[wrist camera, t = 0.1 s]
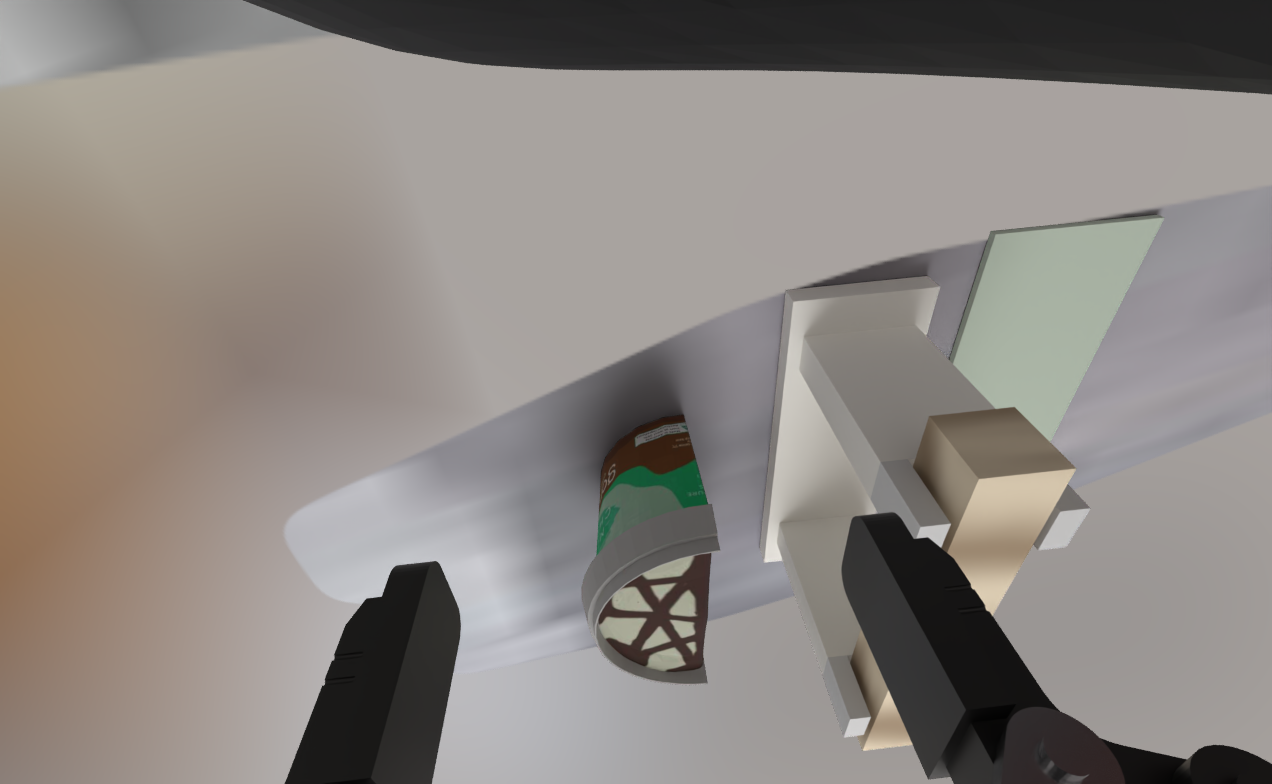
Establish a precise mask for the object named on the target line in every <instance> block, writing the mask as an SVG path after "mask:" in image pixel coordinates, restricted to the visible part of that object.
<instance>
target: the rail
mask: <svg viewBox="0 0 1272 784" xmlns="http://www.w3.org/2000/svg"><path fill="white" fill-rule="evenodd" d="M913 468H914V470H915V471H916V472H917V474H918V475H919V477H920V478H921V480H922V481H923V483H924V484H925V486H926V487H927V489H928V490H929V492H930V493H931V495H932V496H933V498H934V499H935V501H936V502H937V504H938V505H939V507H940V508H941V510H942V511H943V513H944V514H945V515H946V517H947V518H948V520H949V521H950V523H951V525H950V527H949V530H948V532H947V535H946V537H945V540H944V542H943V544H942V547H941V548H942V549H943V550H944V551H946V552H947V553H948V554H949V555H950V556H952V557H953V558H954V559H955V561H956V562H957V564H958V565H959V567H960V568H961V570H962V571H963V573H964V574H965V576H966V577H967V579H968V580H969V582H970V583H971V588H972V589H975V591H976V592H977V594H978V595H979V597H980V598H981V600H982V601H983V603H984V604H985V608H986V610H987V611H989V612H990V613H991V615H992V616H993V614H994V612H995V611H996V609H997V607H998V605H999V604H1000V602H1001V600H1002V598H1003V596H1004V595H1005V593H1006V591H1007V590H1008V588H1009V586H1010V584H1011V582H1012V581H1013V579H1014V577H1015V576H1016V574H1017V572H1018V570H1019V568H1020V567H1021V565H1022V563H1023V562H1024V560H1025V558H1026V556H1027V555H1028V553H1029V551H1030V549H1031V547H1032V546H1033V544H1034V542H1035V540H1036V539H1037V537H1038V535H1039V533H1040V532H1041V530H1042V528H1043V526H1044V525H1045V523H1046V521H1047V519H1048V518H1049V516H1050V514H1051V512H1052V511H1053V509H1054V507H1055V505H1056V504H1057V502H1058V500H1059V498H1060V497H1061V495H1062V493H1063V491H1064V490H1065V488H1066V486H1067V484H1068V483H1069V481H1070V479H1071V477H1072V476H1073V474H1074V472H1075V470H1076V468H1075V467H1074V466H1073V465H1072V464H1071V463H1070V462H1069V461H1068V460H1067V459H1066V458H1065V457H1064V456H1063V455H1062V454H1061V453H1060V452H1059V451H1058V450H1057V449H1056V448H1055V447H1054V446H1053V445H1052V444H1051V443H1050V442H1049V441H1048V440H1047V439H1046V438H1045V437H1044V436H1043V435H1042V434H1041V433H1040V432H1039V431H1038V430H1037V429H1036V428H1035V427H1034V426H1033V425H1032V424H1031V423H1030V422H1029V421H1028V420H1027V419H1026V418H1025V417H1024V416H1023V415H1022V414H1021V413H1020V412H1019V411H1018V410H1017V409H1016V408H1015V407H1009V408H1000V409H991V410H981V411H972V412H962V413H953V414H944V415H934V416H929V418H928V421H927V424H926V427H925V430H924V433H923V437H922V440H921V443H920V446H919V449H918V452H917V455H916V458H915V462H914V465H913ZM850 665H851V667H852V670H853V672H854V675H855V677H856V680H857V682H858V685H859V688H860V690H861V693H862V695H863V698H864V700H865V703H866V705H867V708H868V711H869V713H870V716H871V718H870V721H869V723H868V725H867V728H866V730H865V733H864V735H859V736H857V737H858V740H859V743H860V745H861V748H862V751H864V750H873V749H881V748H890V747H898V746H907V745H913V744H912V742H911V740H910V737H909V735H908V733H907V731H906V728H905V726H904V724H903V722H902V719H901V717H900V715H899V713H898V710H897V708H896V706H895V704H894V701H893V699H892V697H891V695H890V692H889V690H888V688H887V686H886V683H885V681H884V679H883V677H882V674H881V672H880V670H879V668H878V666H877V663H876V661H875V659H874V657H873V654H872V652H871V650H870V648H869V645H868V643H867V641H866V639H865V636H864V634H863V632H862V630H860V633H859V636H858V639H857V642H856V645H855V649H854V652H853V655H852V658H851V661H850Z"/></svg>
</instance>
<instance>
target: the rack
mask: <svg viewBox="0 0 1272 784" xmlns="http://www.w3.org/2000/svg"><path fill="white" fill-rule="evenodd" d="M939 290H940V286H939V285H938V284H936V283H935V282H934V281H933V280H932V279H931V278H930V277H928V276H921V277H912V278H902V279H892V280H882V281H872V282H862V283H852V284H842V285H832V286H822V287H812V288H802V289H792V290H786V294H785V304H784V314H783V323H782V333H781V343H780V353H779V363H778V373H777V382H776V392H775V402H774V412H773V422H772V432H771V441H770V451H769V461H768V471H767V481H766V491H765V500H764V510H763V520H762V530H761V540H760V551H761V554H762V557H763V561H764V563H766V562H774V561H783V563H784V566H785V569H786V572H787V575H788V577H789V580H790V583H791V586H792V589H793V592H794V595H795V598H796V600H797V604H798V606H799V609H800V612H801V615H802V618H803V621H804V624H805V627H806V630H807V633H808V635H809V638H810V641H811V644H812V647H813V650H814V653H815V656H816V659H817V662H818V664H819V667H820V670H821V673H822V676H823V679H824V682H825V685H826V688H827V691H828V693H829V696H830V699H831V702H832V705H833V708H834V711H835V714H836V717H837V720H838V722H839V725H840V728H841V731H842V734H843V737H851V736H859V735H864V733H865V730H866V728H867V725H868V723H869V721H870V718H871V716H870V713H869V711H868V708H867V705H866V703H865V700H864V698H863V695H862V693H861V690H860V688H859V685H858V682H857V680H856V677H855V675H854V672H853V670H852V667H851V665H850V661H851V658H852V655H853V652H854V649H855V645H856V642H857V639H858V636H859V633H860V630H861V627H860V625H859V623H858V621H857V618H856V616H855V614H854V612H853V609H852V607H851V605H850V603H849V600H848V598H847V596H846V593H845V589H844V586H843V581H842V572H841V567H842V561H843V556H844V551H845V547H846V542H847V538H848V533H849V528H850V524H851V520H852V518H853V517H854V516H861V515H870V514H876V511H877V512H878V514H879V513H888V512H894V513H896V514H897V515H899V516H900V518H901V519H902V520H903V522H904V524H905V525H906V527H907V528H908V530H909V532H910V533H911V535H912V536H913V538H914V539H917V538H926V537H928V538H930V539H931V540H932V541H933V542H935V543H936V544H937V545H938V546H939V547H942V544H943V542H944V540H945V537H946V535H947V532H948V530H949V527H950V525H951V523H950V521H949V520H948V518H947V517H946V515H945V514H944V513H943V511H942V510H941V508H940V507H939V505H938V504H937V502H936V501H935V499H934V498H933V496H932V495H931V493H930V492H929V490H928V489H927V487H926V486H925V484H924V483H923V481H922V480H921V478H920V477H919V475H918V474H917V472H916V471H915V470H914V468H913V465H914V462H915V458H916V455H917V452H918V449H919V446H920V443H921V440H922V437H923V433H924V430H925V427H926V424H927V421H928V418H929V416H934V415H944V414H953V413H962V412H972V411H981V410H991V409H995V408H994V407H993V405H992V404H991V403H990V402H989V401H988V400H987V399H986V398H985V397H984V396H983V395H982V394H981V393H980V392H979V391H978V390H977V389H976V388H975V387H974V386H973V385H972V383H971V382H970V381H969V380H968V379H967V378H966V377H965V376H964V375H963V374H962V373H961V372H960V371H959V370H958V369H957V368H956V367H955V366H954V365H953V364H952V363H951V362H950V360H949V359H948V358H947V357H946V356H945V355H944V354H943V353H942V352H941V351H940V350H939V349H938V348H937V347H936V346H935V345H934V344H933V343H932V342H931V341H930V340H929V338H928V337H927V336H926V335H927V332H928V328H929V325H930V321H931V318H932V314H933V311H934V307H935V304H936V300H937V297H938V293H939ZM1089 510H1090V507H1089V506H1088V505H1087V504H1086V503H1085V502H1084V501H1083V500H1082V499H1081V498H1080V497H1079V496H1078V495H1077V493H1076V492H1075V491H1074V490H1073V489H1072V488H1071V487H1070V486H1069V485H1068V484H1067V486H1066V488H1065V490H1064V491H1063V493H1062V495H1061V497H1060V498H1059V500H1058V502H1057V504H1056V505H1055V507H1054V509H1053V511H1052V512H1051V514H1050V516H1049V518H1048V519H1047V521H1046V523H1045V525H1044V526H1043V528H1042V530H1041V532H1040V533H1039V535H1038V537H1037V539H1036V540H1035V542H1034V544H1033V545H1034V546H1035V547H1036V548H1037V550H1044V549H1054V548H1062V547H1066V546H1067V545H1068V543H1069V542H1070V540H1071V539H1072V537H1073V535H1074V534H1075V532H1076V531H1077V529H1078V528H1079V526H1080V524H1081V523H1082V521H1083V520H1084V518H1085V516H1086V515H1087V513H1088V512H1089Z"/></svg>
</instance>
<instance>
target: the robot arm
mask: <svg viewBox="0 0 1272 784" xmlns="http://www.w3.org/2000/svg"><path fill="white" fill-rule="evenodd" d="M244 1H246V2H249V3H252V4H254V5H257V6H260V7H262V8H265V9H267V10H270V11H273V12H275V13H278V14H281V15H283V16H286V17H289V18H291V19H294V20H296V21H299V22H302V23H304V24H307V25H310V26H312V27H315V28H318V29H320V30H324V31H327V32H331V33H335V34H338V35H342V36H345V37H349V38H352V39H356V40H360V41H364V42H367V43H370V44H374V45H378V46H381V47H384V48H388V49H392V50H395V51H401V52H406V53H412V54H418V55H423V56H429V57H435V58H441V59H447V60H452V61H458V62H464V63H472V64H481V65H492V66H493V65H494V66H509V67H524V68H540V69H563V70H565V69H566V70H768V71H772V70H773V71H824V72H825V71H826V72H858V73H891V74H892V73H893V74H917V75H939V76H962V77H964V76H965V77H986V78H1006V79H1025V80H1043V81H1062V82H1082V83H1099V84H1116V85H1133V86H1149V87H1165V88H1181V89H1198V90H1214V91H1230V92H1246V93H1261V94H1272V0H244ZM841 572H842V581H843V586H844V589H845V593H846V596H847V598H848V600H849V603H850V605H851V607H852V609H853V612H854V614H855V616H856V618H857V621H858V623H859V625H860V627H861V630H862V632H863V634H864V636H865V639H866V641H867V643H868V645H869V648H870V650H871V652H872V654H873V657H874V659H875V661H876V663H877V666H878V668H879V670H880V672H881V674H882V677H883V679H884V681H885V683H886V686H887V688H888V690H889V692H890V695H891V697H892V699H893V701H894V704H895V706H896V708H897V710H898V713H899V715H900V717H901V719H902V722H903V724H904V726H905V728H906V731H907V733H908V735H909V737H910V740H911V742H912V744H913V746H914V749H915V751H916V753H917V755H918V757H919V759H920V762H921V764H922V767H923V769H924V771H925V773H926V775H927V777H928V779H936V778H944V777H951V778H952V781H953V783H954V784H1272V764H1271V763H1269V762H1267V761H1265V760H1263V759H1262V758H1260V757H1258V756H1256V755H1254V754H1251V753H1249V752H1247V751H1244V750H1240V749H1238V748H1234V747H1229V746H1224V745H1211V746H1205V747H1203V748H1201V749H1199V750H1198V751H1197V752H1195V753H1194V754H1193V755H1192V756H1191V757H1190V758H1189V759H1187V760H1186V759H1182V758H1177V757H1172V756H1168V755H1164V754H1159V753H1154V752H1150V751H1145V750H1141V749H1136V748H1131V747H1127V746H1123V745H1119V744H1115V743H1112V742H1109V741H1106V740H1104V739H1101V738H1099V737H1098V736H1097V735H1096V734H1095V733H1094V732H1093V731H1091V730H1090V729H1089V728H1088V727H1087V726H1085V725H1083V724H1082V723H1081V722H1079V721H1078V720H1076V719H1074V718H1073V717H1071V716H1069V715H1067V714H1065V713H1062V712H1060V711H1059V710H1058V709H1057V708H1056V707H1055V706H1054V705H1053V704H1052V702H1051V701H1050V700H1049V699H1048V697H1047V696H1046V695H1045V694H1044V692H1043V691H1042V690H1041V688H1040V686H1039V685H1038V683H1037V682H1036V680H1035V679H1034V677H1033V676H1032V674H1031V673H1030V672H1029V670H1028V668H1027V667H1026V666H1025V664H1024V663H1023V661H1022V660H1021V658H1020V657H1019V655H1018V653H1017V652H1016V651H1015V649H1014V647H1013V646H1012V644H1011V643H1010V641H1009V640H1008V638H1007V637H1006V636H1005V634H1004V633H1003V631H1002V629H1001V628H1000V627H999V625H998V624H997V622H996V621H995V619H994V618H993V616H992V615H991V613H990V612H989V611H987V610H986V608H985V604H984V603H983V601H982V600H981V598H980V597H979V595H978V594H977V592H976V591H975V589H972V588H971V583H970V582H969V580H968V579H967V577H966V576H965V574H964V573H963V571H962V570H961V568H960V567H959V565H958V564H957V562H956V561H955V559H954V558H953V557H952V556H950V555H949V554H948V553H947V552H946V551H944V550H943V549H942V548H941V547H939V546H938V545H937V544H936V543H935V542H933V541H932V540H931V539H930V538H928V537H926V538H917V539H914V538H913V536H912V535H911V533H910V532H909V530H908V528H907V527H906V525H905V524H904V522H903V520H902V519H901V518H900V516H899V515H897V514H896V513H894V512H888V513H879V514H870V515H861V516H854V517H853V518H852V520H851V524H850V528H849V533H848V538H847V542H846V547H845V551H844V556H843V561H842V567H841ZM460 630H461V623H460V613H459V608H458V605H457V603H456V601H455V598H454V596H453V594H452V591H451V589H450V587H449V584H448V582H447V580H446V578H445V575H444V573H443V571H442V568H441V566H440V564H439V563H438V562H436V561H433V562H424V563H415V564H406V565H398V566H395V567H394V568H393V569H392V571H391V573H390V575H389V578H388V581H387V584H386V587H385V589H384V592H383V595H382V597H376V598H368V599H366V600H365V601H364V602H363V604H362V605H361V606H360V608H359V609H358V610H357V611H356V613H355V614H354V615H353V616H352V618H351V619H350V620H349V622H348V623H347V624H346V626H345V628H344V631H343V633H342V636H341V638H340V641H339V644H338V646H337V649H336V651H335V654H334V655H335V659H334V661H332V662H331V665H330V667H329V670H328V673H327V675H326V678H325V685H324V686H322V688H321V691H320V693H319V696H318V699H317V701H316V704H315V706H314V709H313V712H312V714H311V717H310V719H309V722H308V725H307V727H306V730H305V732H304V735H303V738H302V740H301V743H300V745H299V748H298V751H297V753H296V756H295V759H294V761H293V764H292V767H291V769H290V772H289V774H288V777H287V779H286V782H285V784H432V778H433V774H434V769H435V764H436V759H437V753H438V748H439V743H440V738H441V733H442V727H443V722H444V717H445V712H446V707H447V702H448V697H449V692H450V687H451V681H452V676H453V671H454V666H455V661H456V656H457V651H458V645H459V640H460Z"/></svg>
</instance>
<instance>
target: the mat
mask: <svg viewBox="0 0 1272 784" xmlns="http://www.w3.org/2000/svg"><path fill="white" fill-rule="evenodd" d="M1163 220H1164V217H1162V216H1159V215H1149V216H1139V217H1129V218H1119V219H1109V220H1099V221H1089V222H1078V223H1068V224H1058V225H1048V226H1038V227H1028V228H1018V229H1009V230H998V231H991V232H990V235H989V238H988V241H987V244H986V247H985V250H984V254H983V257H982V260H981V263H980V266H979V269H978V272H977V275H976V278H975V281H974V284H973V288H972V291H971V294H970V297H969V300H968V303H967V306H966V309H965V312H964V315H963V319H962V322H961V325H960V328H959V331H958V334H957V337H956V340H955V343H954V346H953V349H952V353H951V356H950V359H949V360H950V362H951V363H952V364H953V365H954V366H955V367H956V368H957V369H958V370H959V371H960V372H961V373H962V374H963V375H964V376H965V377H966V378H967V379H968V380H969V381H970V382H971V383H972V385H973V386H974V387H975V388H976V389H977V390H978V391H979V392H980V393H981V394H982V395H983V396H984V397H985V398H986V399H987V400H988V401H989V402H990V403H991V404H992V405H993V407H994V408H995V409H1000V408H1009V407H1015V408H1016V409H1017V410H1018V411H1019V412H1020V413H1021V414H1022V415H1023V416H1024V417H1025V418H1026V419H1027V420H1028V421H1029V422H1030V423H1031V424H1032V425H1033V426H1034V427H1035V428H1036V429H1037V430H1038V431H1039V432H1040V433H1041V434H1042V435H1043V436H1044V437H1045V438H1046V439H1047V440H1048V441H1049V442H1051V440H1052V438H1053V436H1054V434H1055V432H1056V430H1057V428H1058V426H1059V424H1060V422H1061V420H1062V418H1063V416H1064V414H1065V412H1066V410H1067V408H1068V406H1069V404H1070V402H1071V400H1072V398H1073V396H1074V394H1075V392H1076V390H1077V389H1078V387H1079V385H1080V383H1081V381H1082V379H1083V377H1084V375H1085V373H1086V371H1087V369H1088V367H1089V365H1090V363H1091V361H1092V359H1093V357H1094V355H1095V353H1096V351H1097V349H1098V347H1099V345H1100V343H1101V341H1102V339H1103V337H1104V336H1105V334H1106V332H1107V330H1108V328H1109V326H1110V324H1111V322H1112V320H1113V318H1114V316H1115V314H1116V312H1117V310H1118V308H1119V306H1120V304H1121V302H1122V300H1123V298H1124V296H1125V294H1126V292H1127V290H1128V288H1129V286H1130V284H1131V283H1132V281H1133V279H1134V277H1135V275H1136V273H1137V271H1138V269H1139V267H1140V265H1141V263H1142V261H1143V259H1144V257H1145V255H1146V253H1147V251H1148V249H1149V247H1150V245H1151V243H1152V241H1153V239H1154V237H1155V235H1156V233H1157V231H1158V229H1159V228H1160V226H1161V224H1162V222H1163Z"/></svg>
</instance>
